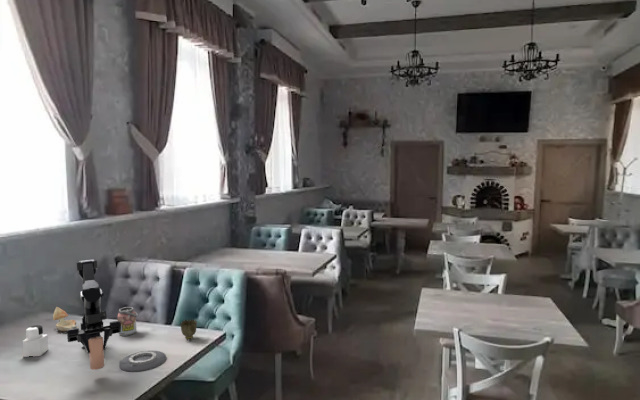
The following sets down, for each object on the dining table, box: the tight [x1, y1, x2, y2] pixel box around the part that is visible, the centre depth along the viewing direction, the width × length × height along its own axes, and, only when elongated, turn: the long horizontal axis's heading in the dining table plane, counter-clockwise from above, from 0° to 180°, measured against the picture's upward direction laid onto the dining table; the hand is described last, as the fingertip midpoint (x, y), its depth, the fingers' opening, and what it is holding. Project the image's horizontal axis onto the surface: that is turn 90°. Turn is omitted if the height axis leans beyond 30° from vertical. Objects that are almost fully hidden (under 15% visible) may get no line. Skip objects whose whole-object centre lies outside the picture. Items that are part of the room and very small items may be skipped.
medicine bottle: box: [21, 324, 49, 358], centre depth 194 cm, size 7×7×12 cm
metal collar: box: [129, 350, 156, 366], centre depth 184 cm, size 11×11×1 cm
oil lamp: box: [52, 306, 79, 332], centre depth 222 cm, size 9×21×10 cm, turn 51°
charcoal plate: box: [118, 350, 167, 373], centre depth 184 cm, size 18×18×1 cm
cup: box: [179, 319, 198, 341], centre depth 207 cm, size 8×7×8 cm
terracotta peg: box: [88, 336, 105, 371], centre depth 171 cm, size 5×5×11 cm
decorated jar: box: [117, 306, 139, 337], centre depth 216 cm, size 9×8×12 cm
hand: (96, 351), depth 169 cm, fingers closed on terracotta peg, 5 cm apart
